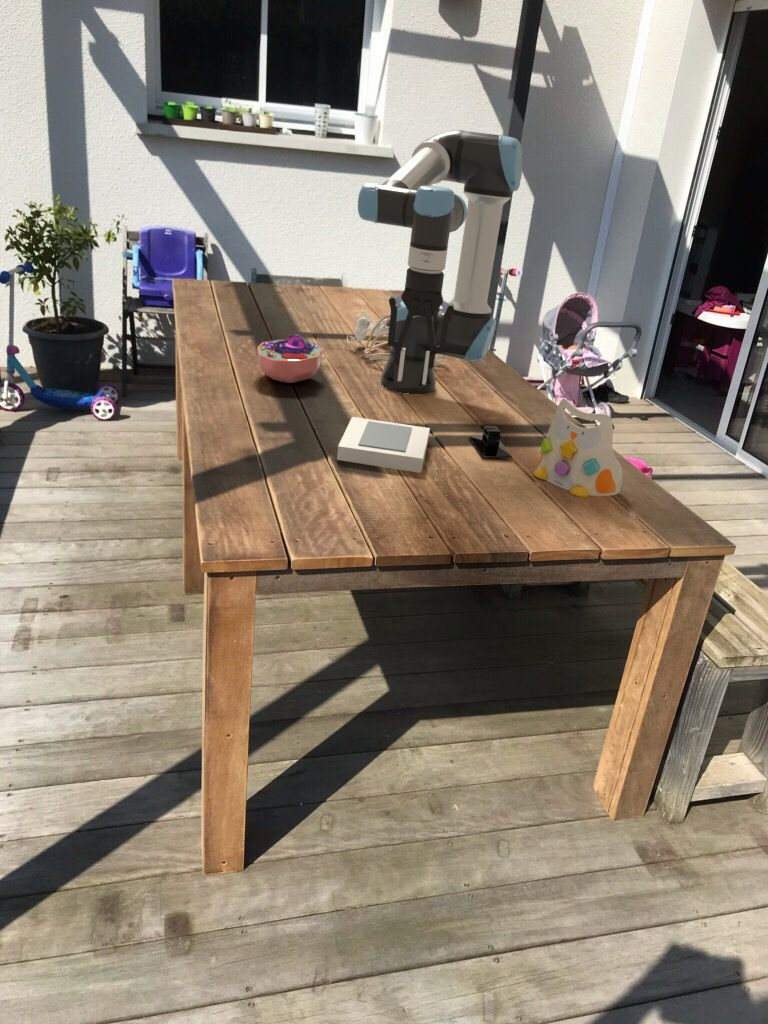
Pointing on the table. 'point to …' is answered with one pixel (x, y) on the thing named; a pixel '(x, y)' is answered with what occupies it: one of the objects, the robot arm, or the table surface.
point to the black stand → (490, 443)
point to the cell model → (289, 359)
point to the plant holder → (379, 331)
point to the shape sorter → (580, 455)
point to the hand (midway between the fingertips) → (411, 380)
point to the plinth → (384, 444)
